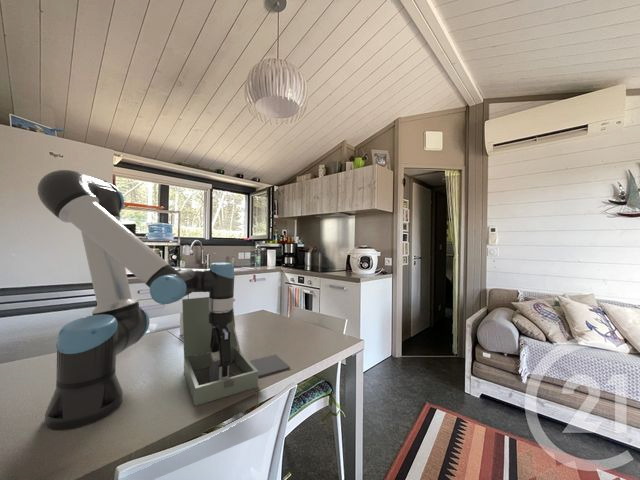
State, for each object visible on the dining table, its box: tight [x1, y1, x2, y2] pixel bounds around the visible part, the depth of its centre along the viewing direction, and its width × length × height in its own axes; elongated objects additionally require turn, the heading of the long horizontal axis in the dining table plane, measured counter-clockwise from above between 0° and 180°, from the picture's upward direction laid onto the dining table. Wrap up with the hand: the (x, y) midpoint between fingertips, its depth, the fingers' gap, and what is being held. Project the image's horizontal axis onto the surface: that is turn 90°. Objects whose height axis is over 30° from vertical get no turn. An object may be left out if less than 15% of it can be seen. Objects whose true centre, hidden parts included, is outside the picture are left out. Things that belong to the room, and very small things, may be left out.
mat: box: [249, 354, 291, 379], centre depth 96 cm, size 12×12×1 cm
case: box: [181, 296, 259, 407], centre depth 89 cm, size 18×31×23 cm, turn 35°
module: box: [208, 352, 230, 382], centre depth 86 cm, size 5×5×8 cm
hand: (219, 378), depth 86 cm, fingers open, 10 cm apart
